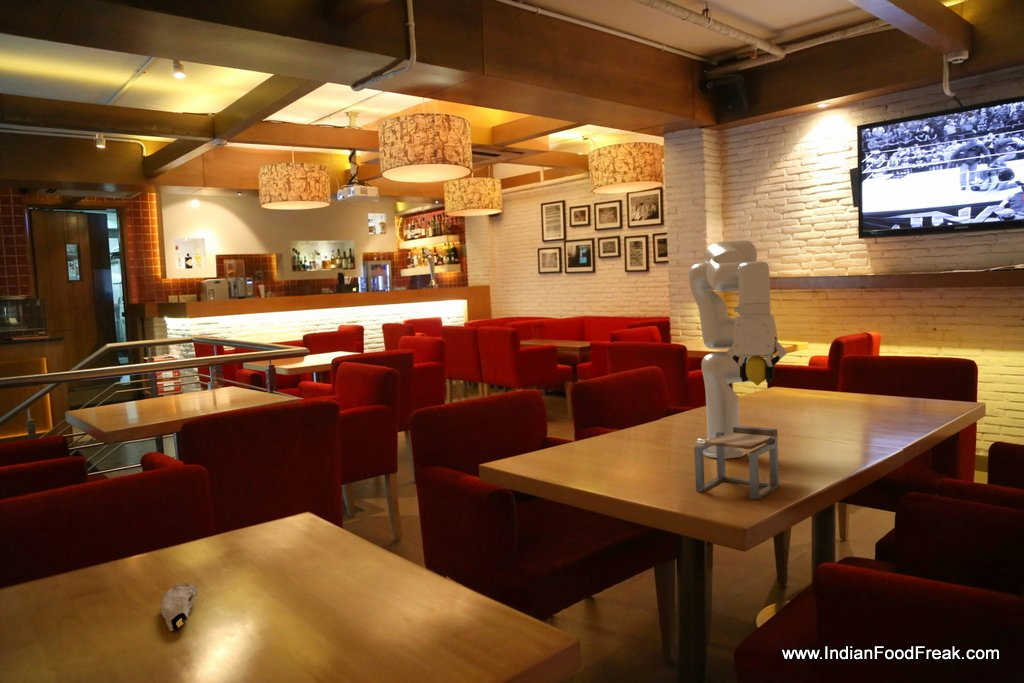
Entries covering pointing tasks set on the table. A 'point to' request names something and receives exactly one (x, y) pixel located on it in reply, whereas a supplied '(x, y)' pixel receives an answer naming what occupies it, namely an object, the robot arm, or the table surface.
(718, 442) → the trapdoor
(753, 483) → the frame
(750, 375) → the lemon
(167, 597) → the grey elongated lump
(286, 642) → the table surface
